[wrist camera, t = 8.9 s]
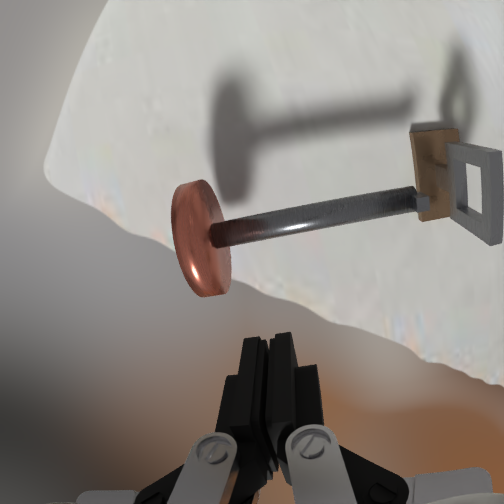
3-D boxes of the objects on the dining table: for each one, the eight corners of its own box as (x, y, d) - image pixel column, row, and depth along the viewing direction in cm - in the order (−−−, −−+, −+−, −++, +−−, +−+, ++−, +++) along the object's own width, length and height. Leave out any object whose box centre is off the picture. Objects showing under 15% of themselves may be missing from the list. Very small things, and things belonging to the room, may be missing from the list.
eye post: (409, 132, 30) (466, 141, 19) (453, 128, 29) (518, 137, 18) (418, 219, 34) (469, 261, 23) (460, 211, 33) (518, 248, 22)
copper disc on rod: (182, 178, 31) (144, 203, 22) (393, 137, 28) (440, 145, 19) (209, 269, 35) (185, 322, 26) (404, 232, 31) (445, 274, 22)
